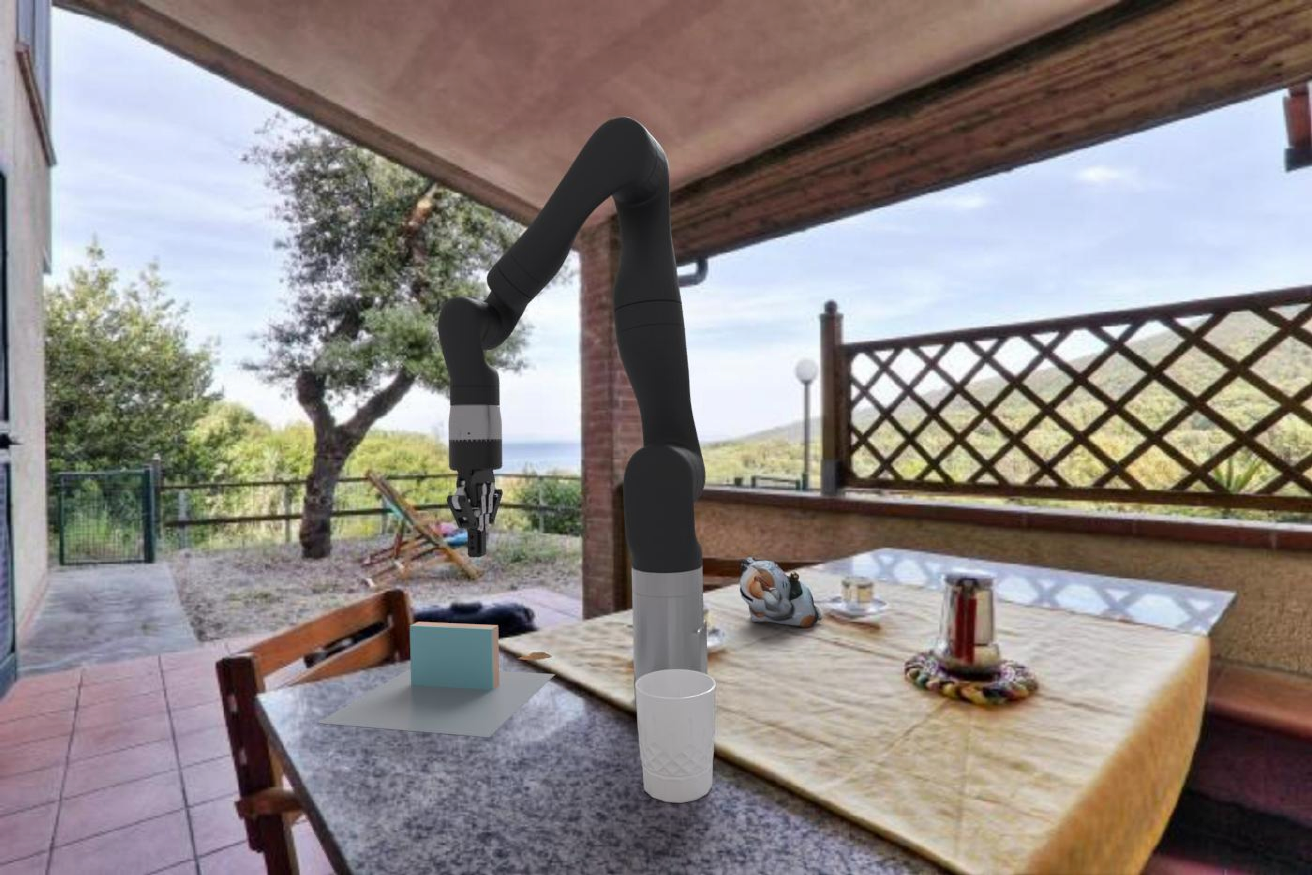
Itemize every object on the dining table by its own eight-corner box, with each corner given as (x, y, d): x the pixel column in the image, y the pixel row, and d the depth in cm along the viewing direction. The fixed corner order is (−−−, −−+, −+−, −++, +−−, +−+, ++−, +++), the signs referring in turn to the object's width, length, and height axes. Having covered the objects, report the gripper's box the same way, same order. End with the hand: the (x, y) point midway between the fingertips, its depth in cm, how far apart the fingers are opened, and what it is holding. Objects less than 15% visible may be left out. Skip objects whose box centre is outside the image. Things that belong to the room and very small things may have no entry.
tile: (499, 684, 90) (498, 625, 90) (492, 690, 88) (491, 629, 88) (419, 679, 92) (418, 621, 92) (411, 684, 90) (409, 625, 90)
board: (555, 682, 93) (554, 674, 93) (489, 747, 74) (488, 737, 74) (414, 673, 98) (414, 665, 98) (317, 732, 79) (317, 722, 79)
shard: (599, 669, 100) (598, 657, 100) (564, 686, 93) (564, 673, 93) (545, 658, 106) (545, 646, 106) (509, 672, 99) (509, 660, 99)
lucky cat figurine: (832, 628, 117) (806, 564, 112) (769, 656, 117) (741, 593, 112) (802, 585, 131) (778, 527, 127) (746, 611, 131) (721, 553, 126)
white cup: (635, 767, 69) (633, 670, 69) (710, 763, 69) (708, 666, 69) (639, 810, 61) (637, 700, 61) (725, 804, 62) (722, 695, 62)
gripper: (477, 437, 90) (479, 565, 90) (518, 436, 103) (520, 549, 103) (427, 437, 91) (428, 564, 91) (473, 437, 104) (475, 548, 104)
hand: (477, 556), depth 97 cm, fingers closed
